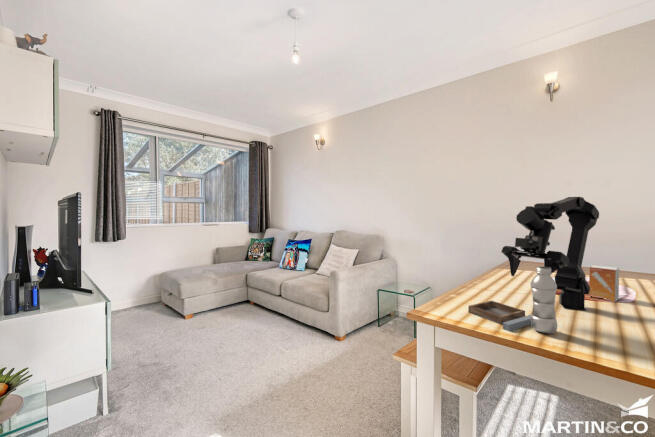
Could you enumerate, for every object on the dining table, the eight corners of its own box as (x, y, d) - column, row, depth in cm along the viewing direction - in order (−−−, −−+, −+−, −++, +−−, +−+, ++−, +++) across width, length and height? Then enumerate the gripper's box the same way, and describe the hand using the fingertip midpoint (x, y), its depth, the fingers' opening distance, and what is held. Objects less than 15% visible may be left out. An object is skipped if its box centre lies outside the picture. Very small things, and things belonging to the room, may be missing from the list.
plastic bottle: (562, 336, 85) (562, 270, 84) (536, 335, 86) (537, 269, 85) (550, 328, 91) (550, 265, 90) (526, 326, 92) (526, 265, 92)
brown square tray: (491, 306, 111) (491, 300, 111) (525, 317, 100) (525, 310, 100) (468, 312, 106) (468, 305, 106) (501, 324, 94) (501, 317, 94)
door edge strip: (536, 318, 99) (536, 313, 99) (543, 320, 97) (543, 314, 97) (502, 328, 91) (502, 322, 91) (509, 331, 89) (509, 324, 89)
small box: (588, 297, 120) (588, 266, 120) (592, 294, 124) (593, 264, 124) (615, 302, 114) (615, 269, 113) (619, 299, 117) (619, 267, 117)
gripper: (499, 225, 104) (486, 265, 101) (558, 228, 87) (544, 276, 84) (516, 237, 108) (503, 276, 106) (575, 242, 91) (563, 288, 89)
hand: (526, 278), depth 96 cm, fingers open, 9 cm apart
